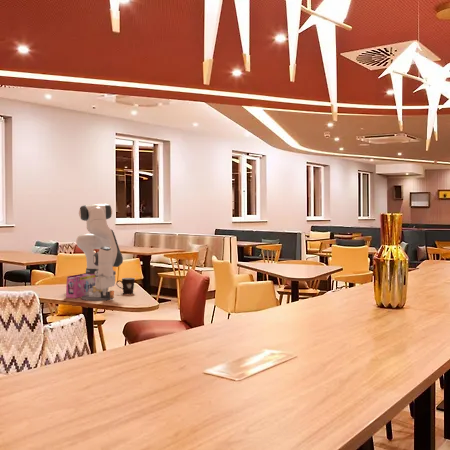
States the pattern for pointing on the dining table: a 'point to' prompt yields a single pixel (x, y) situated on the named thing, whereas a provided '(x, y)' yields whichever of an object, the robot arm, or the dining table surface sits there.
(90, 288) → the gum box
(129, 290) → the coffee mug
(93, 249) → the robot arm
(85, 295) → the cap housing
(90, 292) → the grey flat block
